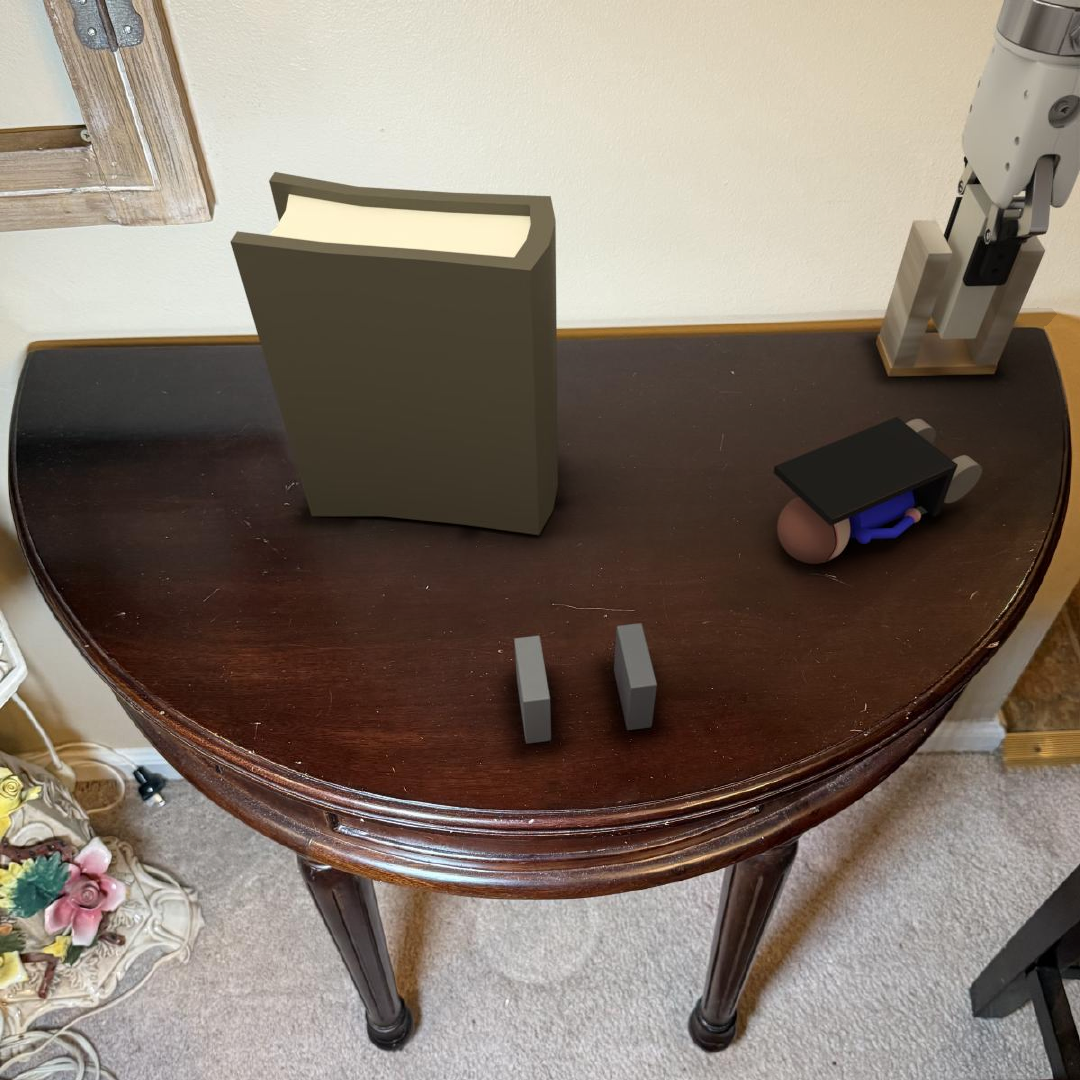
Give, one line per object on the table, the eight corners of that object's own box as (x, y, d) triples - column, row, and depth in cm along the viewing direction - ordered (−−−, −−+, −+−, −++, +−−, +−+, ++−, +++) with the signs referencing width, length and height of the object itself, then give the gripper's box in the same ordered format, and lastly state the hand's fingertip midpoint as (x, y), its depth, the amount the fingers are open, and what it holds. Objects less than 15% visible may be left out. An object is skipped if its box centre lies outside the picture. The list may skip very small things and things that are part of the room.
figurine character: (895, 473, 77) (748, 532, 71) (930, 397, 72) (774, 454, 66) (958, 527, 73) (808, 595, 67) (1000, 451, 68) (841, 517, 62)
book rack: (977, 340, 86) (1026, 217, 77) (994, 374, 83) (1047, 250, 74) (875, 342, 86) (911, 220, 77) (887, 376, 83) (927, 253, 74)
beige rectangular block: (959, 304, 82) (1003, 183, 73) (975, 338, 79) (1024, 216, 70) (925, 305, 82) (966, 184, 74) (940, 339, 79) (985, 217, 71)
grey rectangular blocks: (637, 666, 64) (641, 622, 61) (651, 727, 61) (657, 684, 58) (517, 681, 64) (513, 638, 60) (525, 744, 61) (523, 702, 57)
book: (562, 465, 77) (561, 189, 59) (548, 540, 72) (542, 263, 54) (340, 444, 79) (274, 171, 61) (311, 516, 74) (230, 241, 56)
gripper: (1179, 75, 57) (1059, 329, 71) (1073, -36, 68) (987, 203, 82) (1050, 78, 57) (955, 332, 71) (964, -33, 68) (897, 206, 82)
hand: (973, 261), depth 76 cm, fingers closed on beige rectangular block, 4 cm apart
